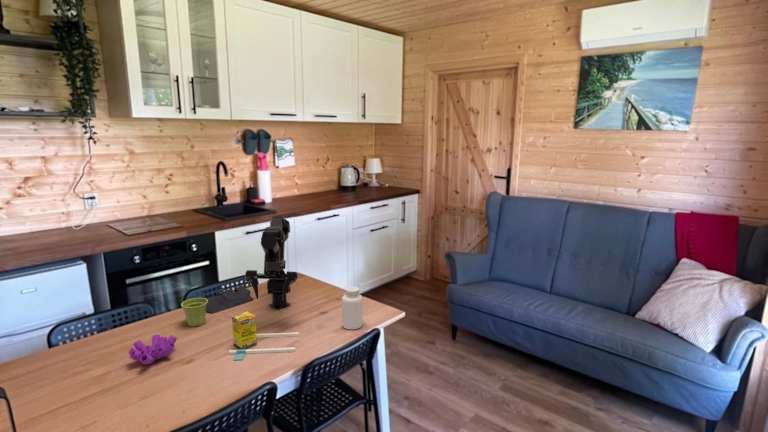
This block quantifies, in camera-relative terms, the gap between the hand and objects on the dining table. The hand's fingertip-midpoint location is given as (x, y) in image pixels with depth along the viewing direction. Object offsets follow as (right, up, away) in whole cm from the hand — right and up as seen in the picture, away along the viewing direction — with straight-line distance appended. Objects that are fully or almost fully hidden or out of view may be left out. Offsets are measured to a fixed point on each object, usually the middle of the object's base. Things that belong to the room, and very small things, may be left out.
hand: (270, 299), depth 155 cm
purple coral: (-34, -17, -15) cm, 41 cm away
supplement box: (-7, -15, -6) cm, 18 cm away
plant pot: (-31, -11, +10) cm, 35 cm away
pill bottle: (+29, -12, +9) cm, 33 cm away
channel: (0, -15, -6) cm, 16 cm away
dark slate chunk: (-28, -8, +30) cm, 41 cm away
